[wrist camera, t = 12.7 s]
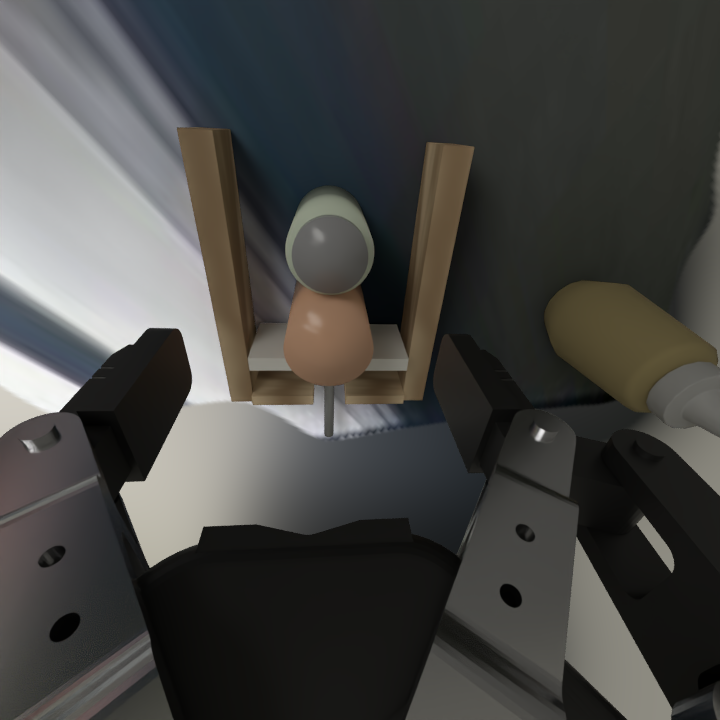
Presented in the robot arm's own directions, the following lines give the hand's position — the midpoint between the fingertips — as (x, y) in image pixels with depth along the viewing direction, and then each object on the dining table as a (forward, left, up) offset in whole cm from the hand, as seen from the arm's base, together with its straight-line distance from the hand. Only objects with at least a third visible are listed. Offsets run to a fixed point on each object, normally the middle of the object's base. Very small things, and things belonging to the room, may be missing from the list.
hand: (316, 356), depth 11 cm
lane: (+1, -5, -20) cm, 21 cm away
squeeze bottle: (+25, -8, -21) cm, 33 cm away
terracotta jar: (0, -6, -20) cm, 21 cm away
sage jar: (+1, -1, -20) cm, 20 cm away
